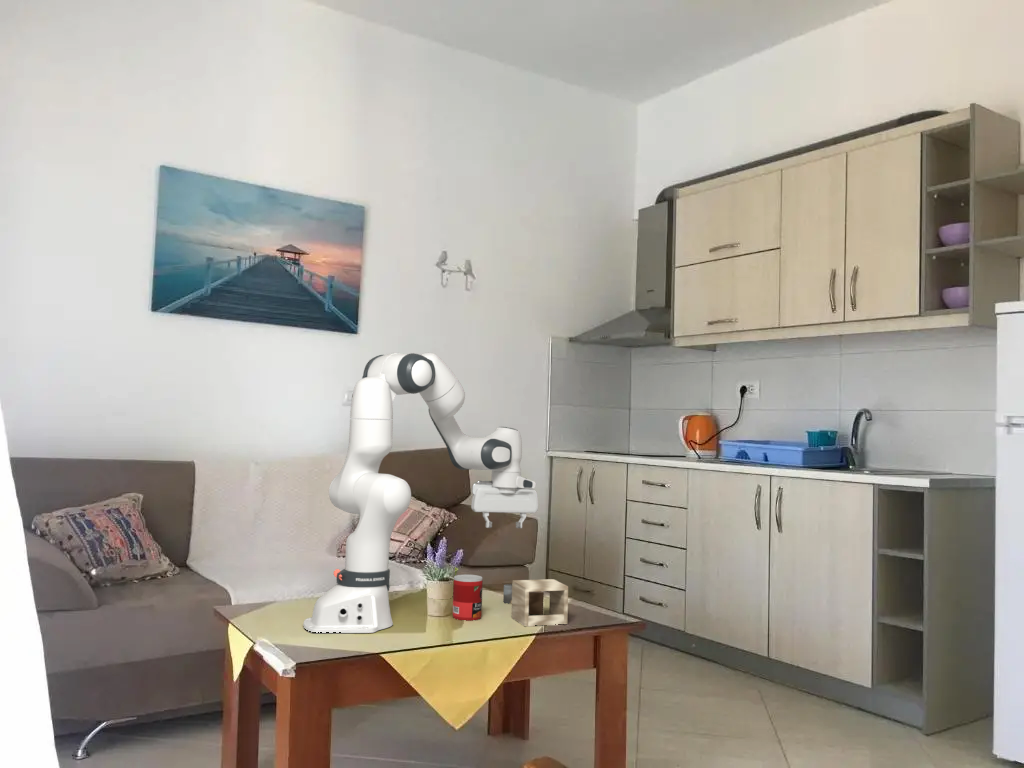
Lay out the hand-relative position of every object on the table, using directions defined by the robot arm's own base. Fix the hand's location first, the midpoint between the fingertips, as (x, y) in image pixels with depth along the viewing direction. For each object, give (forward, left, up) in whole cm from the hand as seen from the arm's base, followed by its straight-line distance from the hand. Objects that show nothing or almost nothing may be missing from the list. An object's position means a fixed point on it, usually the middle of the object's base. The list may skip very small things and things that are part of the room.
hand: (503, 527), depth 255 cm
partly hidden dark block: (+2, -9, -22) cm, 24 cm away
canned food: (-16, -19, -22) cm, 33 cm away
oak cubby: (+2, -27, -22) cm, 34 cm away
